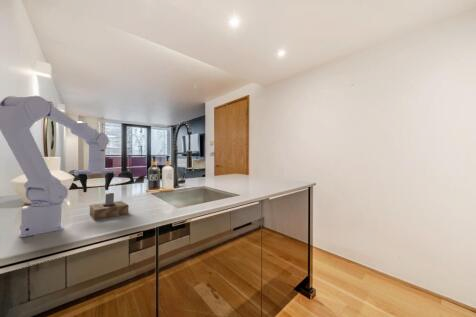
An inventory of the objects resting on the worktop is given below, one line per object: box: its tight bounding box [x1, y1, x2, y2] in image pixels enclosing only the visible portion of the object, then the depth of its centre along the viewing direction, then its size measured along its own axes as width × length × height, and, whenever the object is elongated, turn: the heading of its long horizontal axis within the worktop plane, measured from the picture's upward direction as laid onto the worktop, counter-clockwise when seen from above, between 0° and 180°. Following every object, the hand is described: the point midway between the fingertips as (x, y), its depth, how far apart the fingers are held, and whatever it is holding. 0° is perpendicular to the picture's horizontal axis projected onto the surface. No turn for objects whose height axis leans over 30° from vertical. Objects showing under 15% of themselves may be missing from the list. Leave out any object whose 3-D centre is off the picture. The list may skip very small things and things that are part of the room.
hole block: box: [89, 200, 129, 221], centre depth 80 cm, size 12×10×4 cm
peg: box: [104, 192, 115, 207], centre depth 80 cm, size 3×3×9 cm
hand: (96, 190), depth 80 cm, fingers open, 7 cm apart
